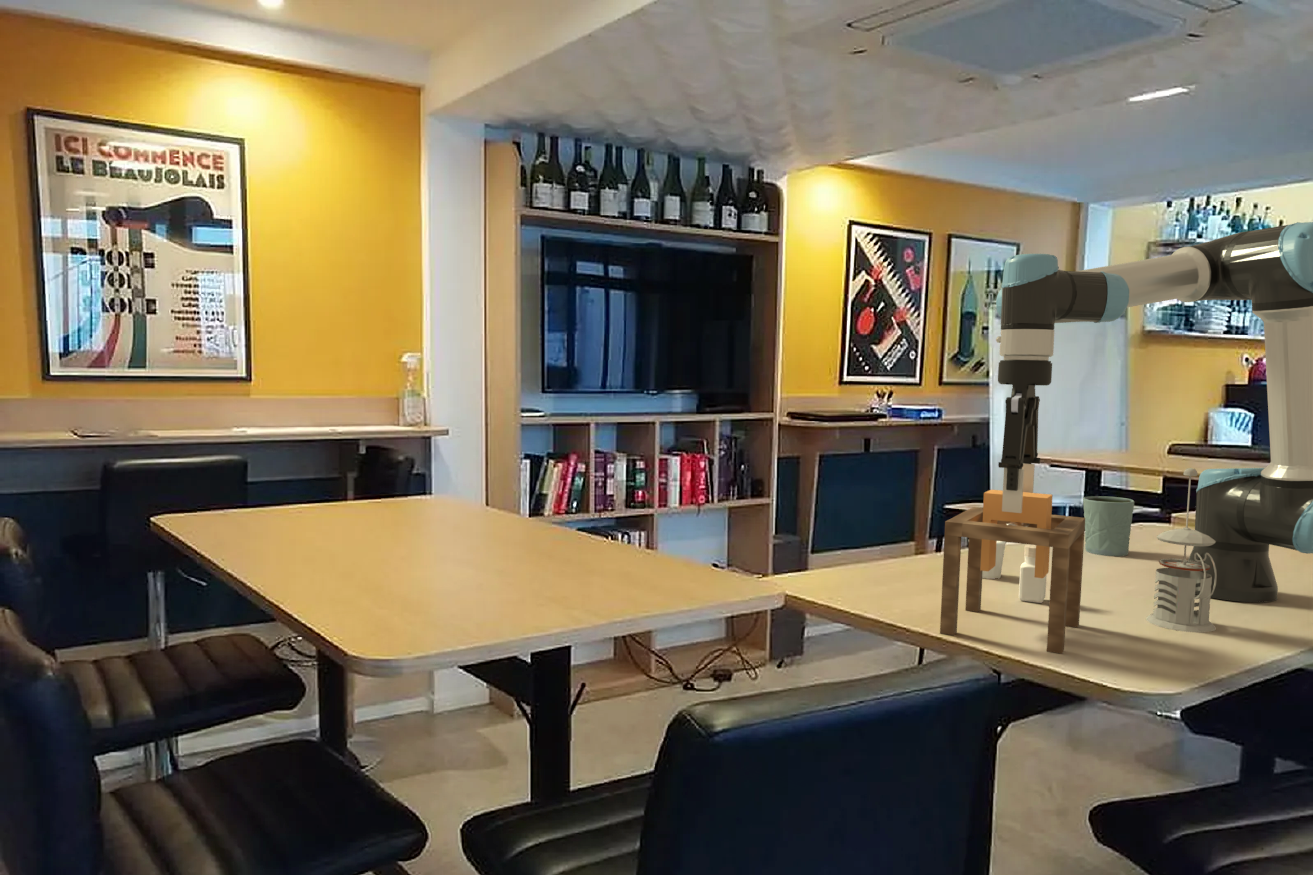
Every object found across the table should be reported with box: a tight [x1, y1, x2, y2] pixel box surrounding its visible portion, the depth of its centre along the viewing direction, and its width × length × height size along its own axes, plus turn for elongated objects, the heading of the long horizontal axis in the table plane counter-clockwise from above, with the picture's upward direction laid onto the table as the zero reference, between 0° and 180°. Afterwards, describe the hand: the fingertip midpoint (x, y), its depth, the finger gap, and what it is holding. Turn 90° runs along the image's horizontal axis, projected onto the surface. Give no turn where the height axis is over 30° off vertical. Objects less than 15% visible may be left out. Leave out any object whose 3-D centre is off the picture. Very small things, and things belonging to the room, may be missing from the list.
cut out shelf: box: [939, 506, 1085, 655], centre depth 140 cm, size 17×18×17 cm
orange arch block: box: [980, 489, 1053, 578], centre depth 140 cm, size 9×5×12 cm, turn 58°
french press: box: [1145, 467, 1217, 633], centre depth 144 cm, size 10×12×25 cm
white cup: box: [982, 541, 1007, 580], centre depth 177 cm, size 7×7×7 cm
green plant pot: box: [1082, 495, 1135, 557], centre depth 203 cm, size 10×10×12 cm
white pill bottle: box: [1018, 544, 1047, 604], centre depth 159 cm, size 4×4×10 cm
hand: (1017, 508), depth 140 cm, fingers open, 8 cm apart
